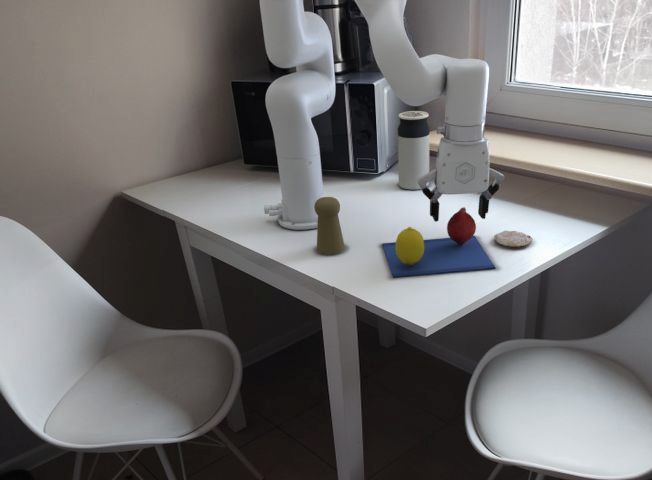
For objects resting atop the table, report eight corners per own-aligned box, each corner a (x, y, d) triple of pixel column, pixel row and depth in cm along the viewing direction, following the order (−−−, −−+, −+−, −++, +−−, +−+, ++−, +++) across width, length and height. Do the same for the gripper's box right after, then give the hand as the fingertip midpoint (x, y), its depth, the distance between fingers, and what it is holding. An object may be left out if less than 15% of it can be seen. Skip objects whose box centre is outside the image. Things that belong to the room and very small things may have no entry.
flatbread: (538, 244, 128) (539, 240, 127) (506, 251, 126) (507, 246, 125) (517, 231, 134) (518, 226, 134) (486, 237, 132) (487, 232, 131)
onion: (456, 252, 126) (458, 215, 121) (441, 243, 130) (442, 206, 126) (480, 246, 128) (482, 209, 124) (464, 237, 132) (465, 200, 128)
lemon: (422, 272, 119) (422, 233, 114) (393, 271, 120) (392, 232, 115) (425, 260, 123) (426, 222, 119) (398, 259, 124) (397, 221, 120)
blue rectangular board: (392, 278, 118) (392, 276, 118) (382, 244, 131) (382, 243, 131) (495, 268, 119) (495, 267, 119) (474, 237, 133) (474, 235, 133)
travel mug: (409, 192, 159) (408, 119, 149) (393, 184, 165) (391, 113, 155) (435, 186, 162) (435, 114, 152) (418, 178, 168) (417, 109, 158)
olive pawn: (322, 257, 127) (317, 205, 121) (312, 247, 132) (307, 196, 126) (349, 251, 129) (345, 200, 123) (339, 241, 134) (335, 191, 128)
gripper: (422, 139, 113) (419, 227, 122) (514, 134, 114) (505, 222, 124) (415, 128, 119) (413, 213, 129) (503, 124, 120) (494, 208, 130)
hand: (458, 217), depth 126 cm, fingers open, 9 cm apart
